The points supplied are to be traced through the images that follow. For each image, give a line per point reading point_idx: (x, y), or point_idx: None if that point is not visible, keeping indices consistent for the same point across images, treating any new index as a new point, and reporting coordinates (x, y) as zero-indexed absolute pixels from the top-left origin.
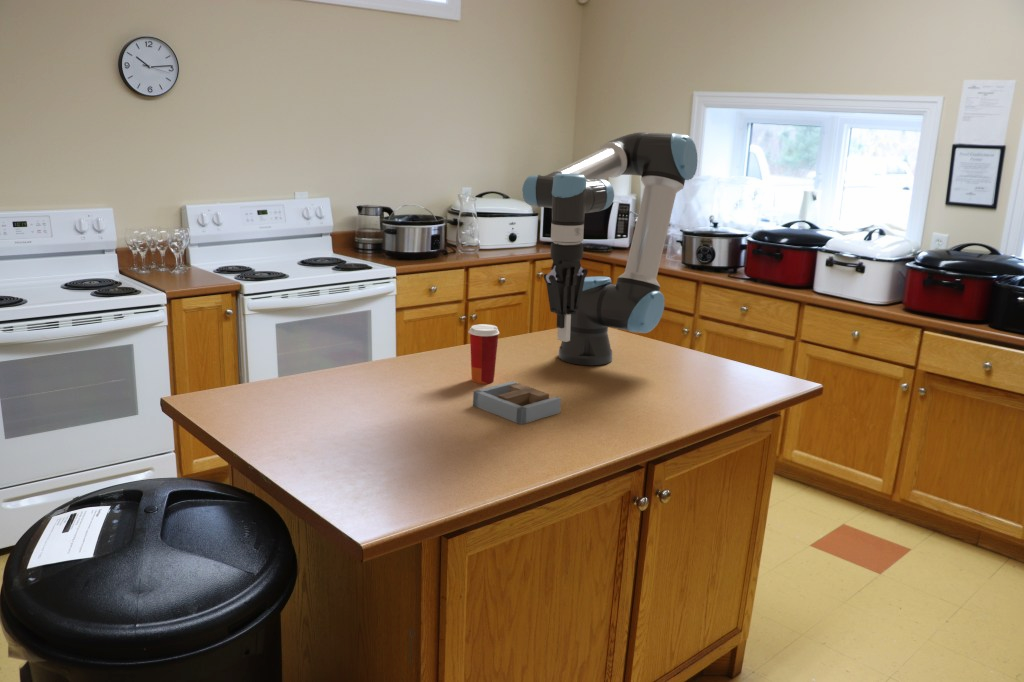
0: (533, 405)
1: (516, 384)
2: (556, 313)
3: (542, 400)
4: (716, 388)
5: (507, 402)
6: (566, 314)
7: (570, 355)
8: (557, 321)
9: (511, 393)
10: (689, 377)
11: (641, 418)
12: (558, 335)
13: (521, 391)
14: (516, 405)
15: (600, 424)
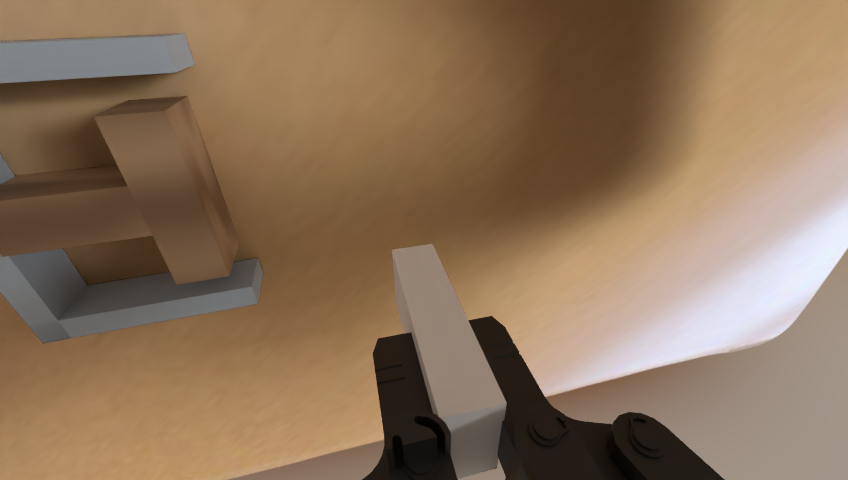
0: (112, 327)
1: (142, 119)
2: (374, 473)
3: (176, 299)
4: (693, 286)
5: (2, 271)
6: (465, 463)
7: None
8: (378, 389)
9: (54, 213)
10: (746, 208)
11: None
12: (397, 275)
13: (121, 211)
14: (35, 308)
15: (311, 363)
